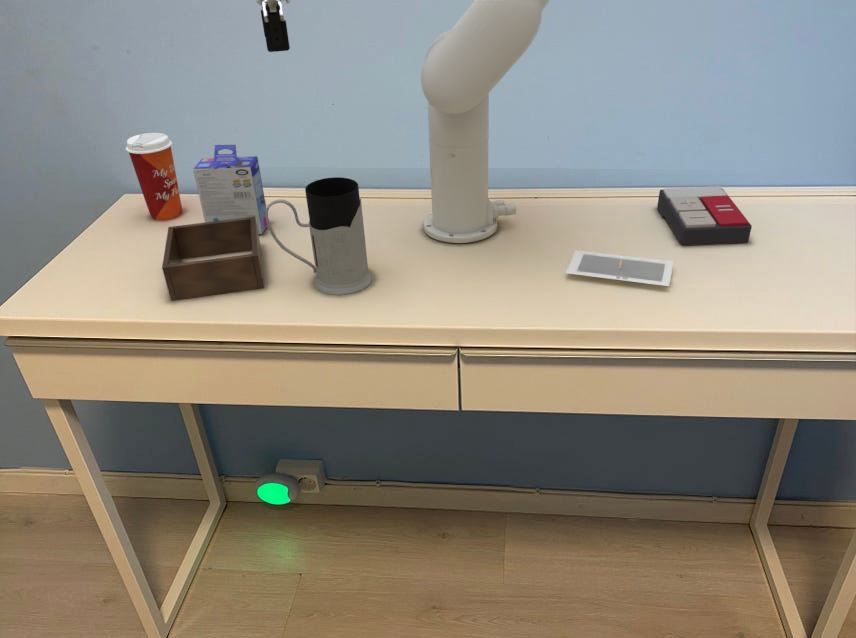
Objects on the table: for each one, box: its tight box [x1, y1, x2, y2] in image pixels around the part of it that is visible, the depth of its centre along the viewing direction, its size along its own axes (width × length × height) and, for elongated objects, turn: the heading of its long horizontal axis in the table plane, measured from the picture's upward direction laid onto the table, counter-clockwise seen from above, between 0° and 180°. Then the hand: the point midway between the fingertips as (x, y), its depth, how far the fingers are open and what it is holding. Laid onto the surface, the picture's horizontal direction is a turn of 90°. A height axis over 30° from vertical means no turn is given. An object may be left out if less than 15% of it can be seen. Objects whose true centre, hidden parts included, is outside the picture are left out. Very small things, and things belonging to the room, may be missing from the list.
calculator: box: [656, 185, 753, 247], centre depth 126 cm, size 11×4×15 cm
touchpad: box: [565, 249, 675, 287], centre depth 113 cm, size 8×15×2 cm, turn 71°
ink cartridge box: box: [192, 144, 268, 235], centre depth 127 cm, size 10×6×14 cm, turn 90°
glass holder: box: [266, 176, 373, 296], centre depth 110 cm, size 9×14×15 cm, turn 99°
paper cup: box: [125, 132, 183, 221], centre depth 134 cm, size 8×8×14 cm
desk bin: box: [161, 216, 265, 302], centre depth 116 cm, size 14×15×6 cm
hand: (277, 43), depth 113 cm, fingers open, 9 cm apart
